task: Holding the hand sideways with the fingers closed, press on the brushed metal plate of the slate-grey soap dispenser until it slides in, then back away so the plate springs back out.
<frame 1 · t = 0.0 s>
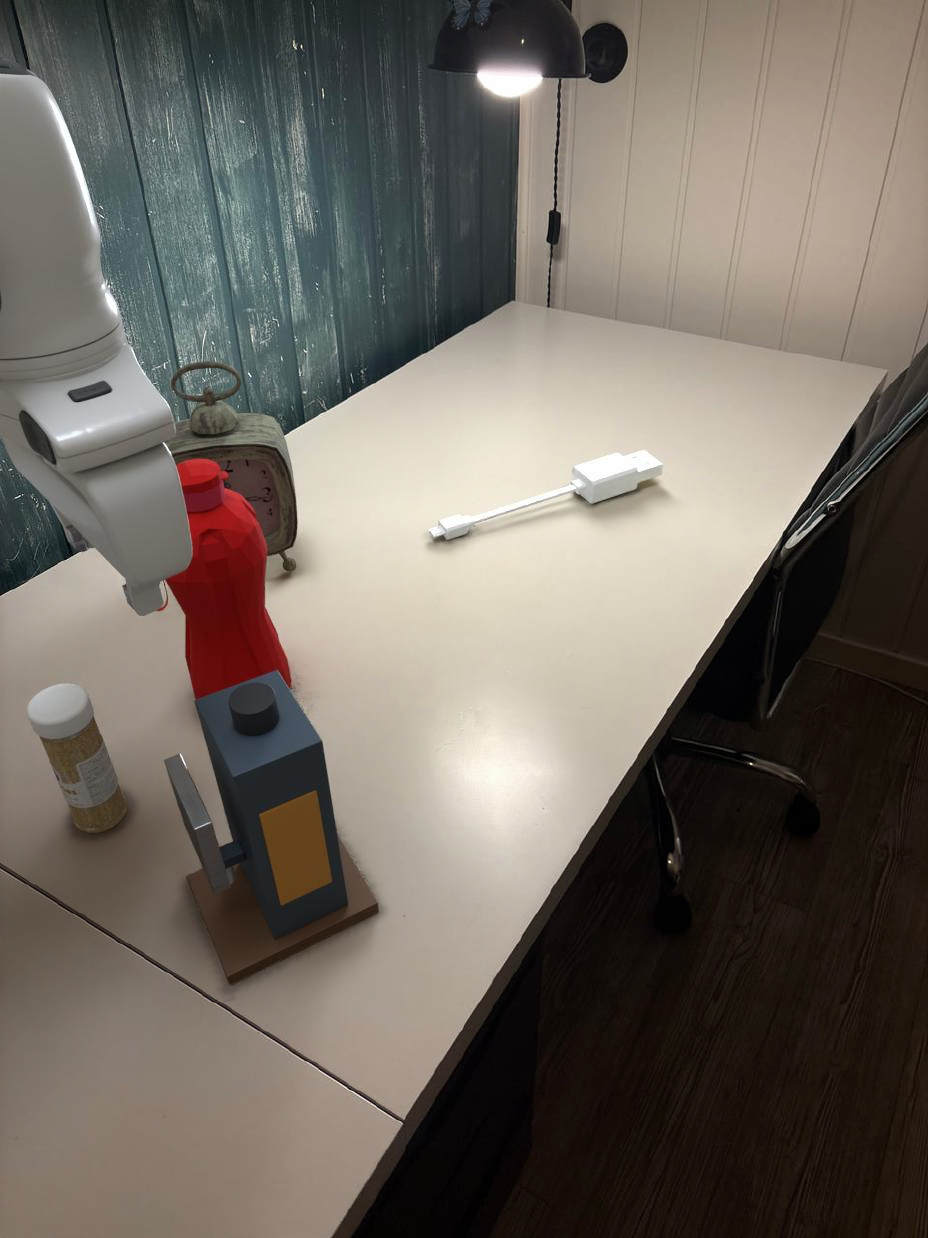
hand: (115, 574, 61), 27 cm above the table, tool pointing down, fingers open, 8 cm apart
charging cable: (550, 506, 117), on the table
tabletop clock: (243, 565, 108), on the table
water bottle: (235, 695, 91), on the table
sprinkles bottle: (102, 815, 79), on the table
brushed metal plate: (197, 823, 63), point 12 cm above the table, slide at 0.1 cm
dispenser: (270, 903, 72), on the table
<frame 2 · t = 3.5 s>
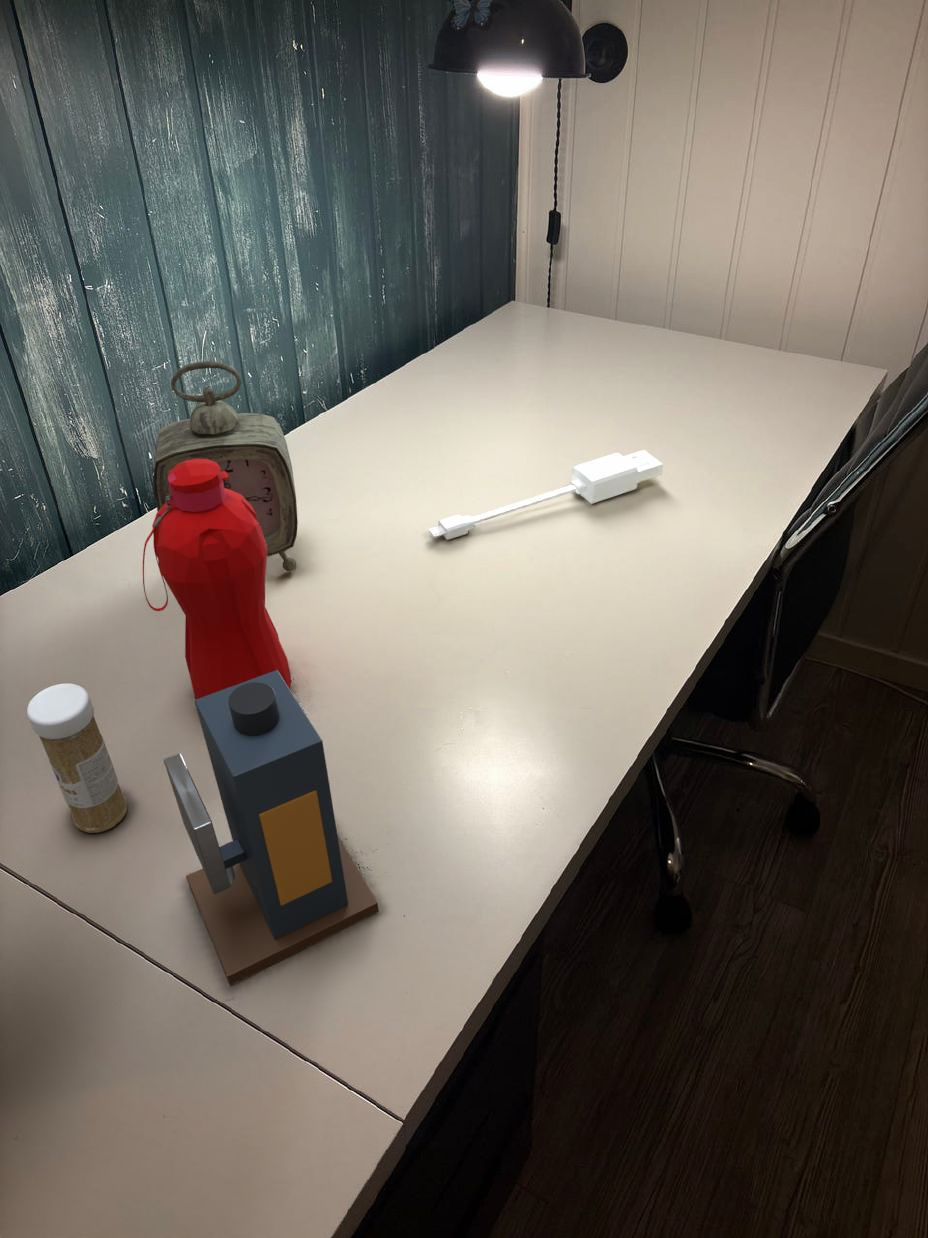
nothing on the table moved.
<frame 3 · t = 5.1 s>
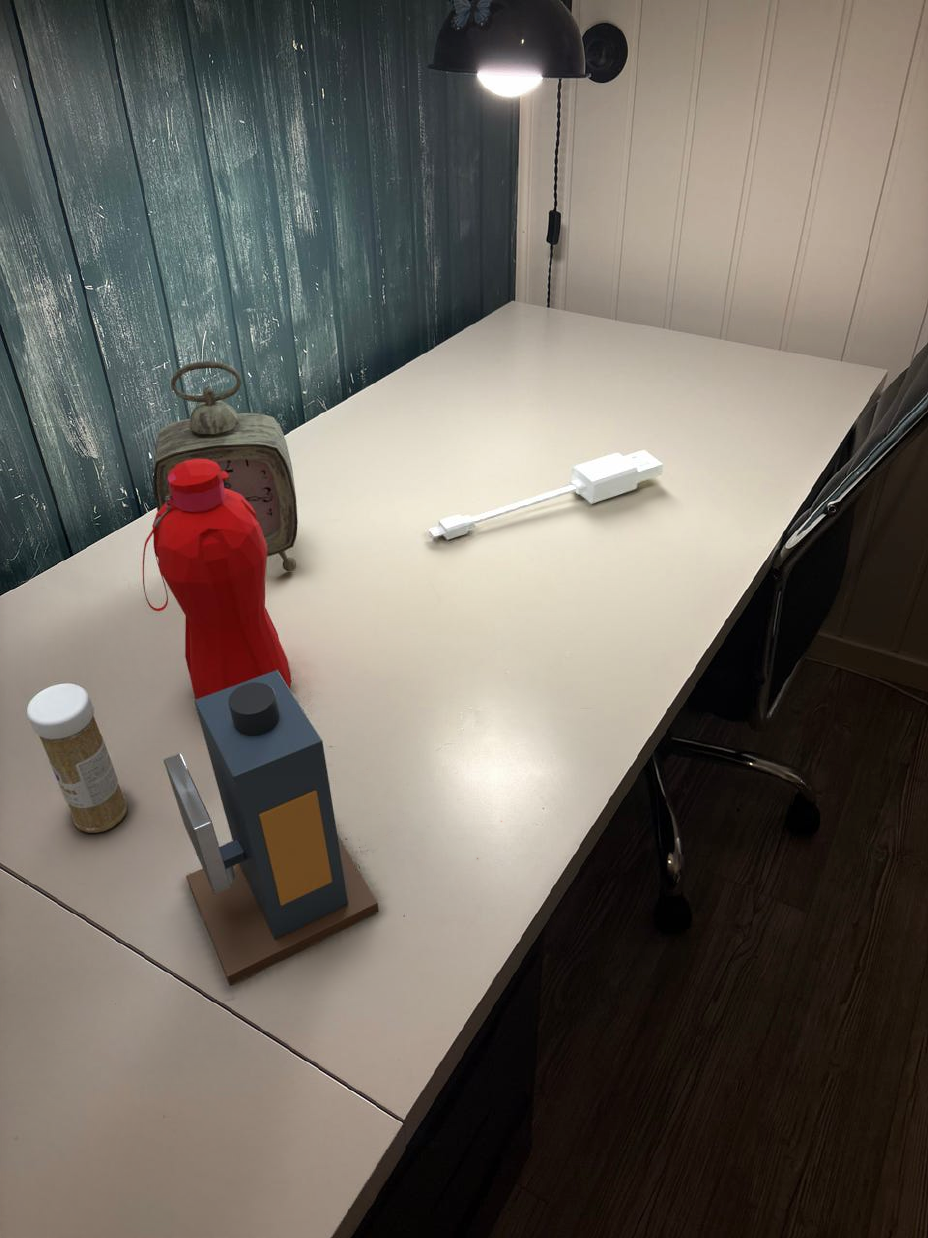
nothing on the table moved.
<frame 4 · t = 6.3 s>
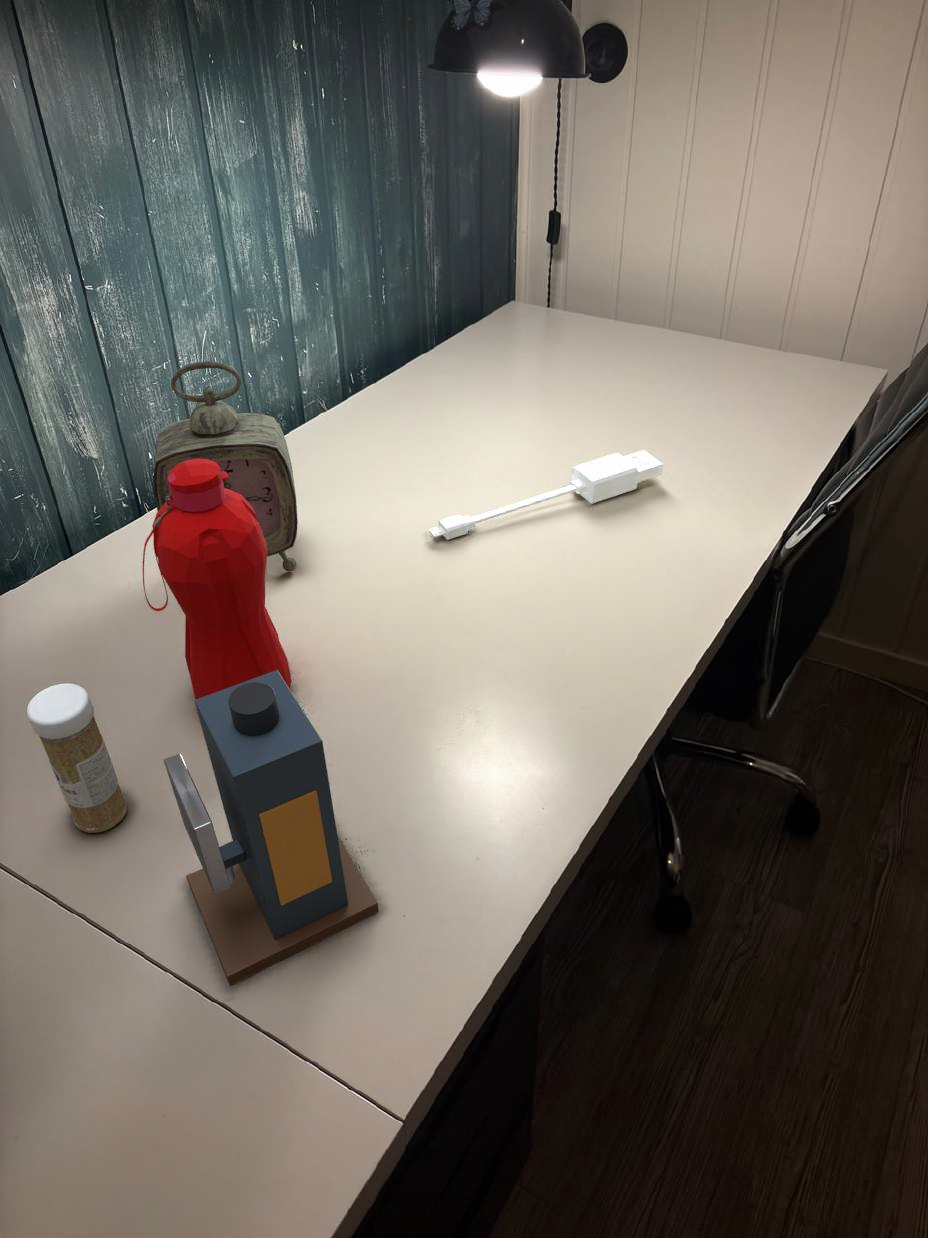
nothing on the table moved.
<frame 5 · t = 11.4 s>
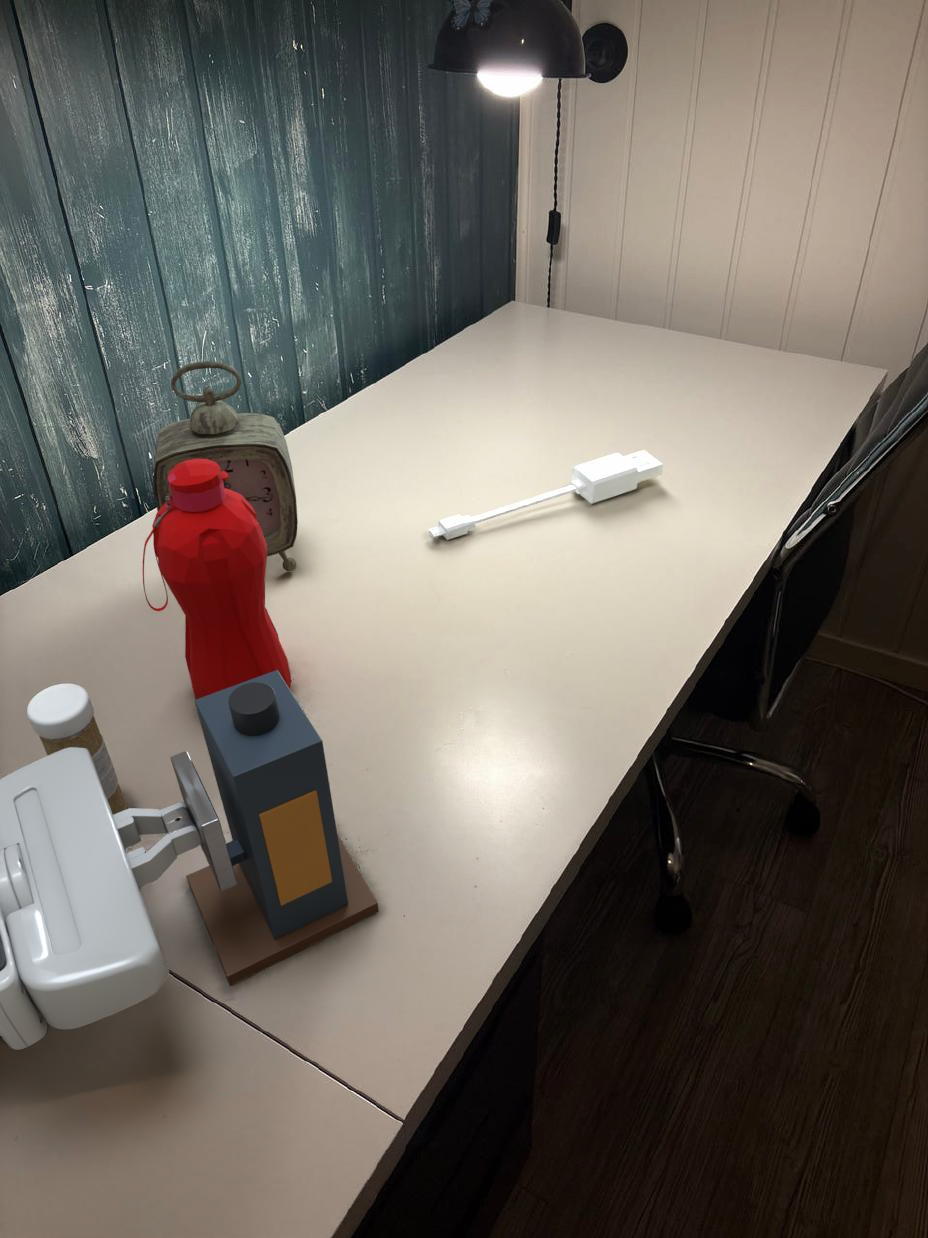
hand: (193, 822, 63), 12 cm above the table, tool horizontal, fingers closed, pressing on brushed metal plate
brushed metal plate: (203, 820, 63), point 12 cm above the table, slide at -0.4 cm, touching gripper
everything else where it was.
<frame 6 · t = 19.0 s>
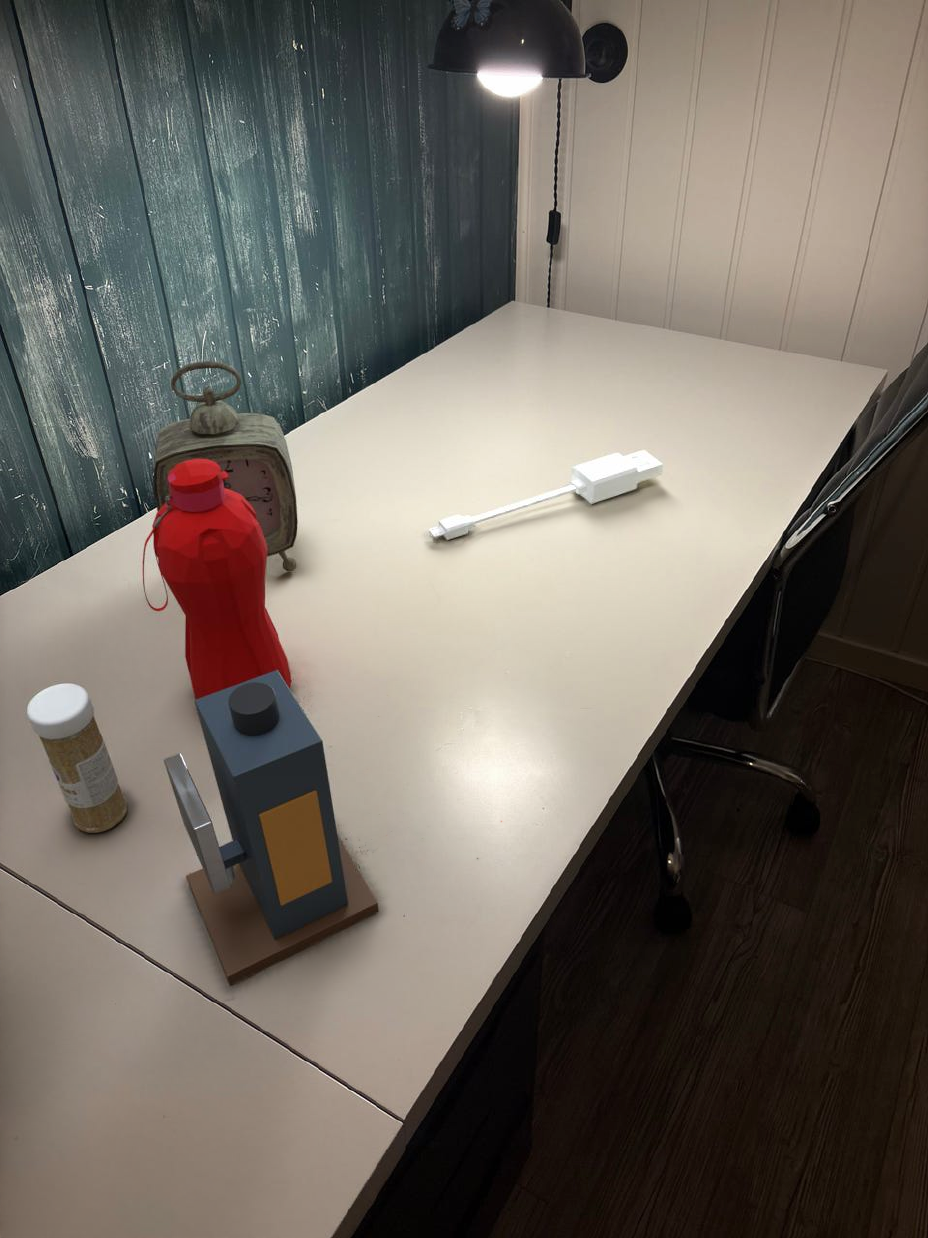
brushed metal plate: (197, 823, 63), point 12 cm above the table, slide at 0.1 cm
everything else where it was.
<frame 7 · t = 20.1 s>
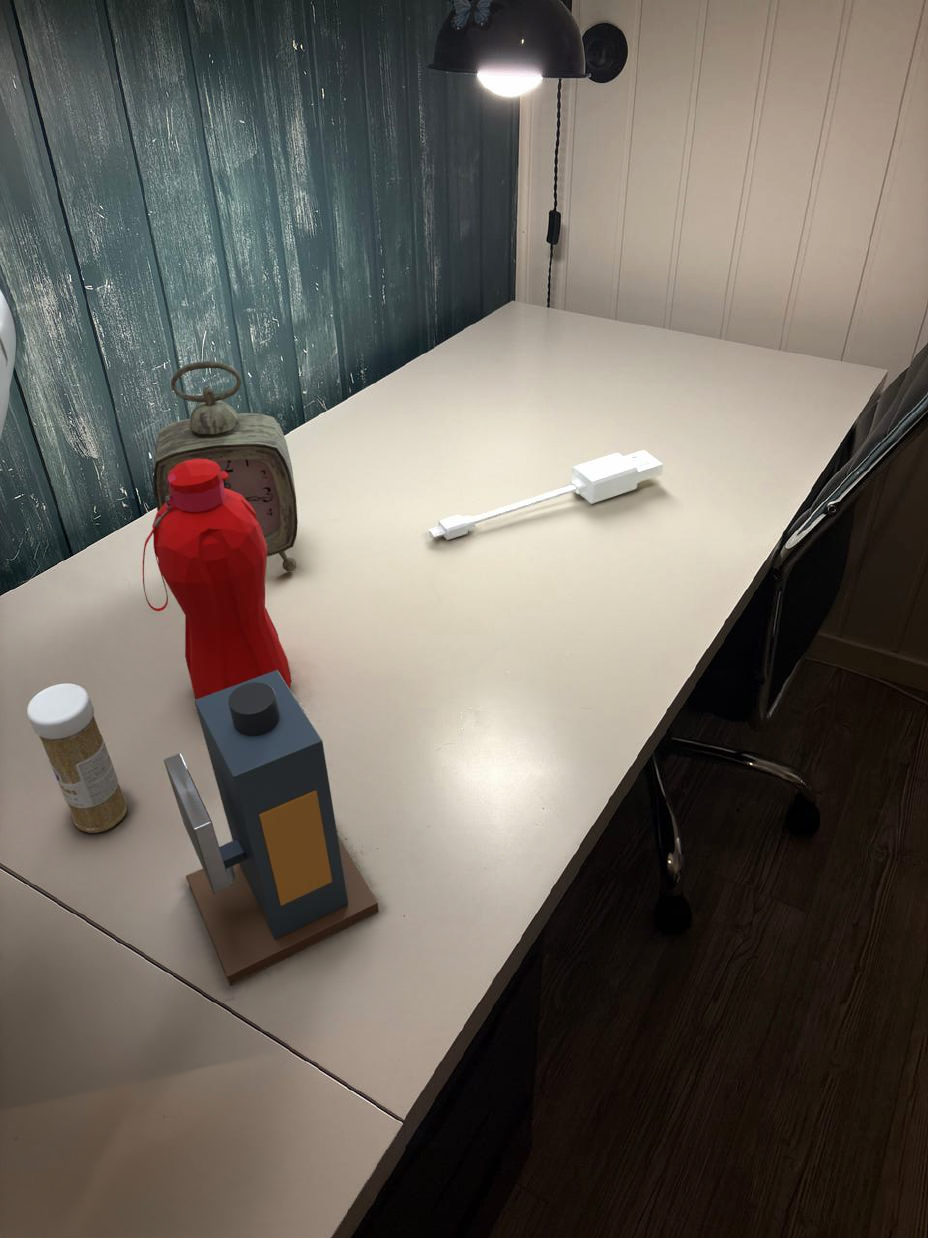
nothing on the table moved.
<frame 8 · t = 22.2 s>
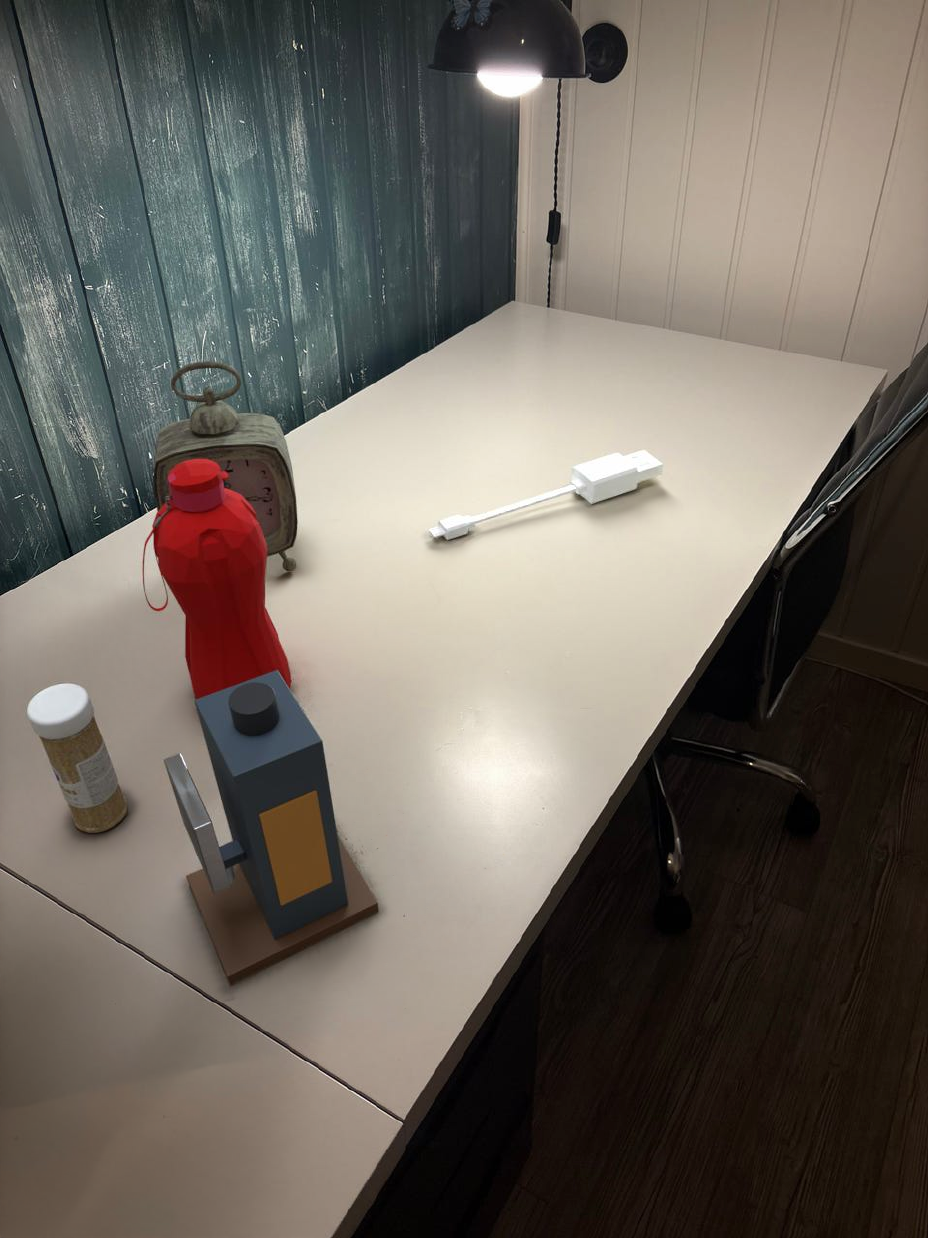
nothing on the table moved.
at the end: brushed metal plate pushed in 1.4 cm at the most during the clip, back to where it started at the end; brushed metal plate slide at 0.1 cm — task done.
